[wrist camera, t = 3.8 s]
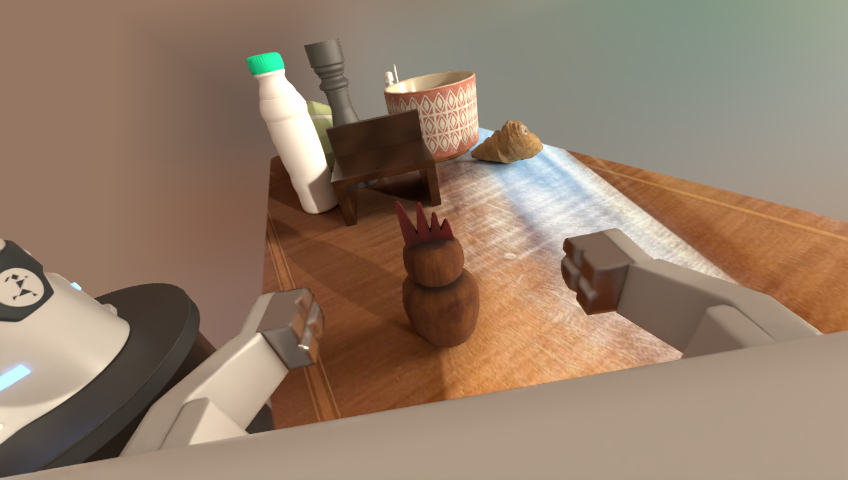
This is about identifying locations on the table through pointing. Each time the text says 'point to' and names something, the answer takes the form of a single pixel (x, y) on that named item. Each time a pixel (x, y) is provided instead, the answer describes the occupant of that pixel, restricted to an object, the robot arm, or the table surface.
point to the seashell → (509, 144)
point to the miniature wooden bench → (379, 156)
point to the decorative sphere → (322, 128)
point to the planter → (440, 110)
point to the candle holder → (334, 83)
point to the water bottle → (293, 134)
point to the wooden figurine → (437, 281)
